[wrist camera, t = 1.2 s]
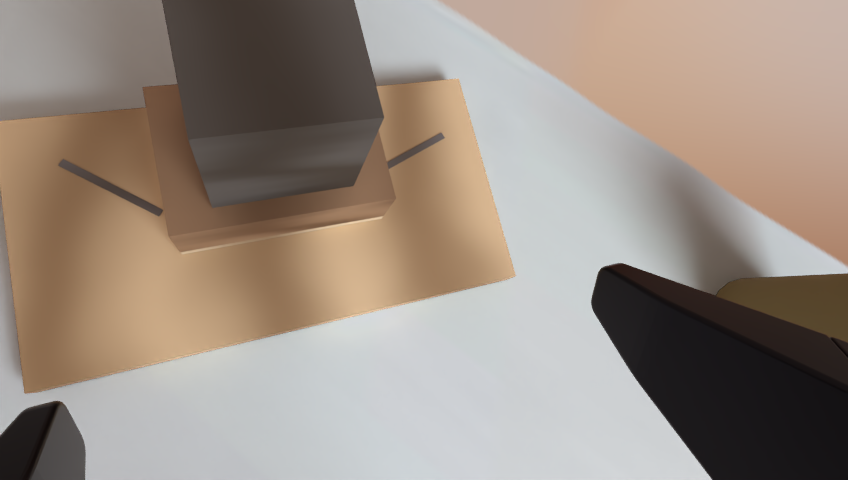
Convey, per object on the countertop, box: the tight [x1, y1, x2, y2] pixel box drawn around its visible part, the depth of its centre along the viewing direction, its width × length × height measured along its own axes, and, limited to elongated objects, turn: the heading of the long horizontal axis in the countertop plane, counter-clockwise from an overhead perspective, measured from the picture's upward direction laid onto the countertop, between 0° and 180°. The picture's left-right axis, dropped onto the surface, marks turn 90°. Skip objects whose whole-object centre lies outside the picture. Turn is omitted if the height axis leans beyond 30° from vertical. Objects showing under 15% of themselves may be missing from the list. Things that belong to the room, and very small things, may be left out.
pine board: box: [0, 79, 516, 393], centre depth 22 cm, size 19×10×1 cm, turn 105°
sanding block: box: [143, 0, 396, 255], centre depth 18 cm, size 8×6×8 cm
